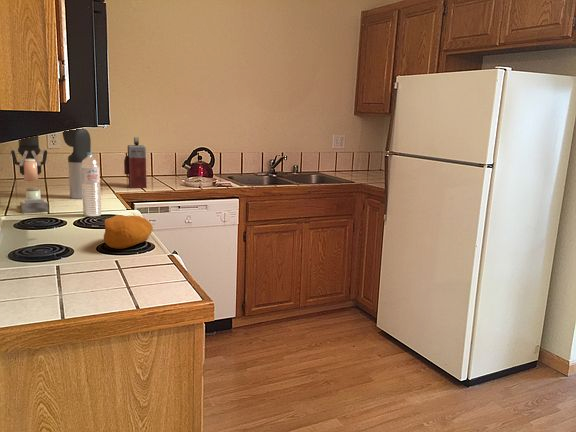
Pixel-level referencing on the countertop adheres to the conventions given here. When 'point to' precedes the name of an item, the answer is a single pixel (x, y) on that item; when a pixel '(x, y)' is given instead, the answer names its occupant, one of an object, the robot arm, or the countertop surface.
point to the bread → (126, 231)
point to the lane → (34, 207)
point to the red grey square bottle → (136, 165)
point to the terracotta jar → (30, 170)
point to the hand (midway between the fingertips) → (30, 174)
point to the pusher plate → (34, 200)
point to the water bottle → (91, 186)
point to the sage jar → (33, 193)
